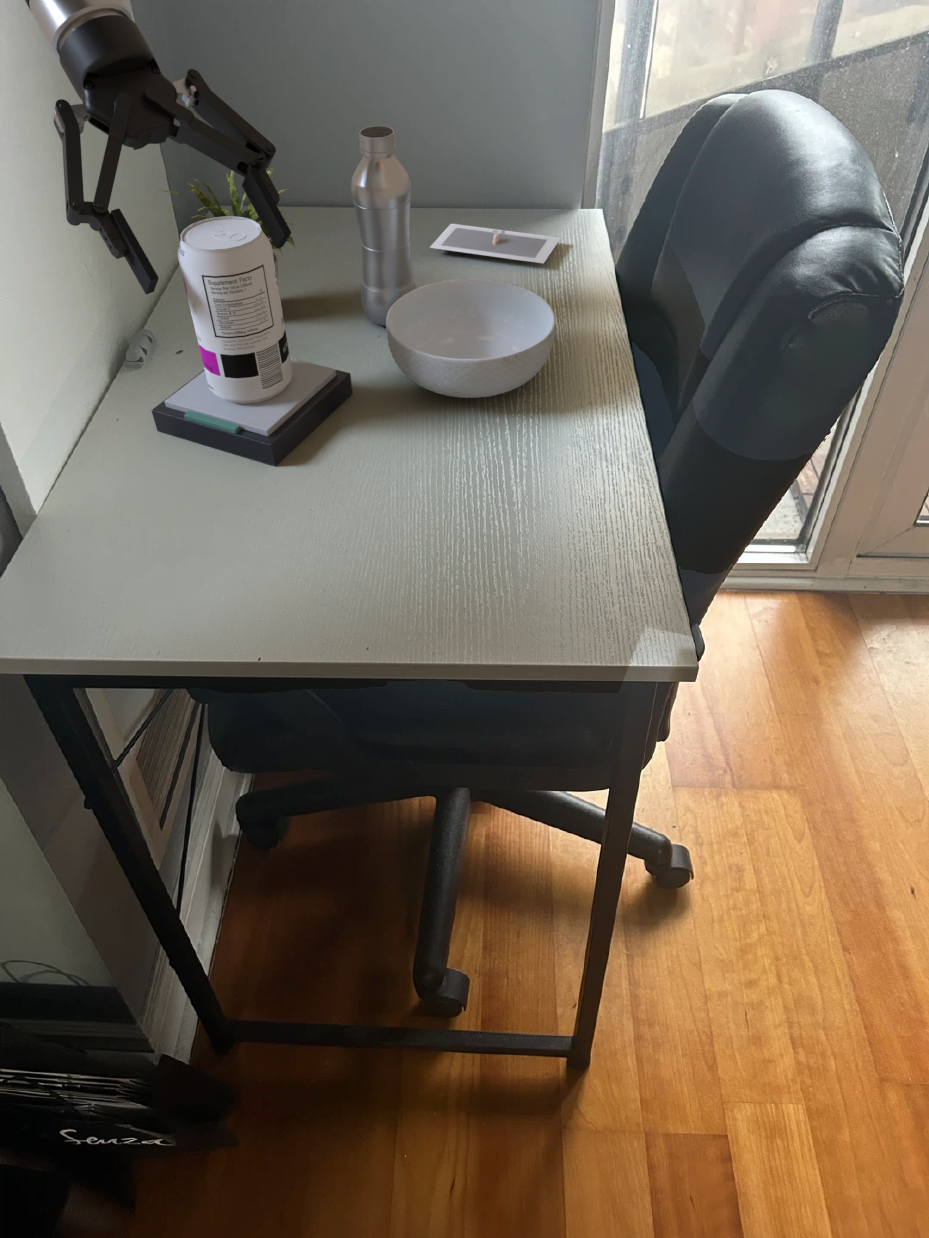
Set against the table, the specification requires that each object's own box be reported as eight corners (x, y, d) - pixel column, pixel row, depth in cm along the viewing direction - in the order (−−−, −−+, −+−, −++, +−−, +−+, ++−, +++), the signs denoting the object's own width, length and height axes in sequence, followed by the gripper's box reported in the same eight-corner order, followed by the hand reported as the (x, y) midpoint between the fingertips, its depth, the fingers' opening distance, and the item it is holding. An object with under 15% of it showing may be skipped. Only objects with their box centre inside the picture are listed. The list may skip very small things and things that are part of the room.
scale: (275, 466, 88) (269, 438, 86) (157, 431, 93) (149, 403, 90) (352, 393, 97) (349, 366, 95) (241, 364, 101) (236, 338, 99)
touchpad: (543, 272, 116) (543, 254, 114) (429, 256, 120) (429, 239, 118) (560, 246, 121) (561, 229, 120) (451, 231, 125) (450, 215, 123)
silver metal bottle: (365, 335, 105) (346, 146, 91) (361, 307, 110) (342, 123, 96) (422, 330, 106) (412, 141, 92) (415, 302, 111) (405, 119, 97)
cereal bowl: (399, 431, 92) (394, 366, 87) (383, 347, 104) (377, 285, 99) (569, 413, 94) (573, 348, 89) (534, 332, 105) (536, 271, 100)
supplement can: (192, 398, 91) (154, 244, 80) (238, 357, 96) (207, 208, 86) (265, 414, 89) (235, 258, 78) (308, 371, 94) (285, 220, 83)
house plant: (191, 356, 103) (153, 204, 91) (176, 301, 112) (140, 156, 101) (319, 334, 106) (298, 184, 94) (294, 282, 115) (273, 139, 104)
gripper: (-48, 39, 73) (96, 287, 76) (230, -14, 85) (346, 203, 87) (-46, 99, 80) (86, 326, 82) (211, 42, 91) (320, 242, 94)
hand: (220, 263), depth 85 cm, fingers open, 13 cm apart
